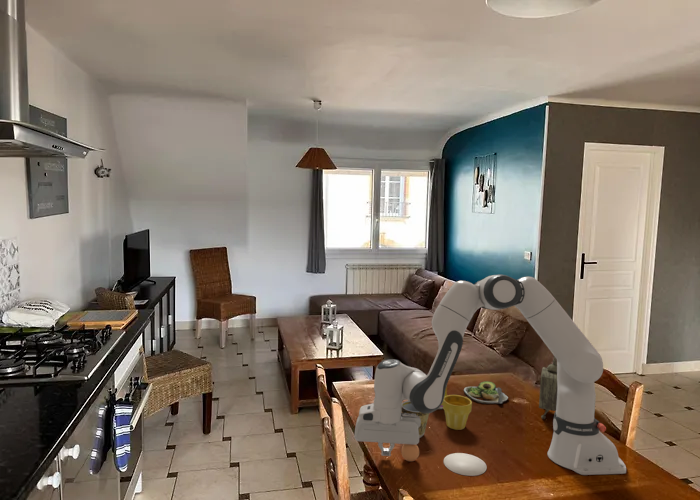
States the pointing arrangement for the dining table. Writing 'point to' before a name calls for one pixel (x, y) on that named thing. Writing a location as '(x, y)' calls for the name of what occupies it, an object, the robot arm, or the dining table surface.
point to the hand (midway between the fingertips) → (386, 454)
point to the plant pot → (456, 411)
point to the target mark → (465, 464)
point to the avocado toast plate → (486, 393)
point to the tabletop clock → (548, 388)
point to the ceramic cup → (410, 409)
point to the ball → (410, 452)
